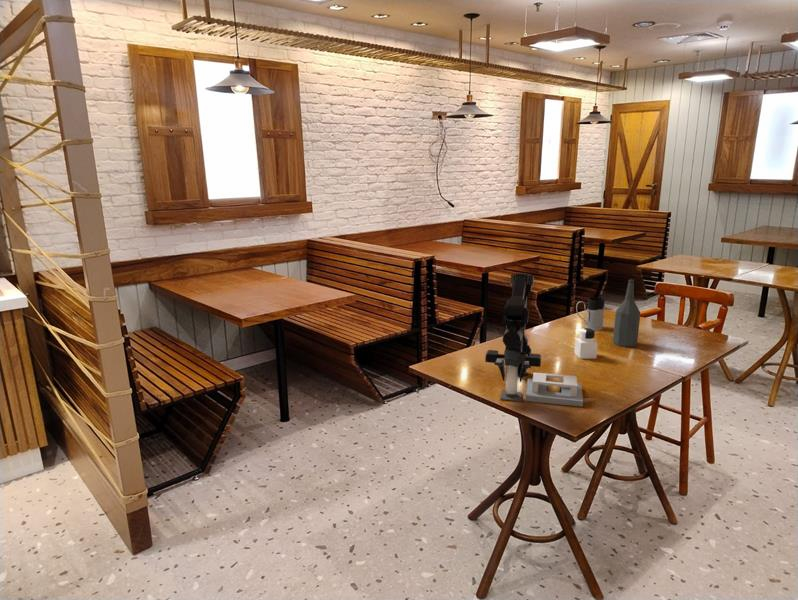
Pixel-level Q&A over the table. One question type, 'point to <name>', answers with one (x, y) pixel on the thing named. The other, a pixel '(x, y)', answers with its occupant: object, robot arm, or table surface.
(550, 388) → the button
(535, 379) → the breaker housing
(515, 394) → the white cylinder
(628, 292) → the bottle
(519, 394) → the pad
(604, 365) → the table surface
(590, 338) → the medicine bottle
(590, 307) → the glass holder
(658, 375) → the table surface
